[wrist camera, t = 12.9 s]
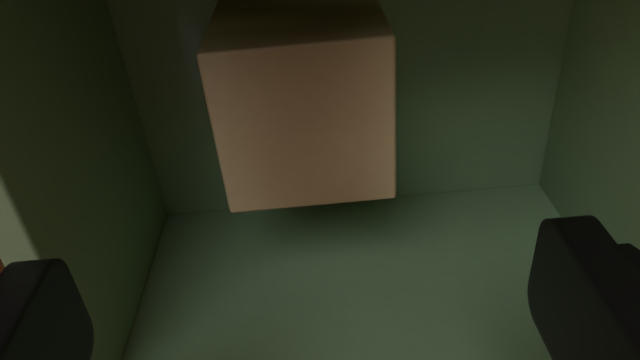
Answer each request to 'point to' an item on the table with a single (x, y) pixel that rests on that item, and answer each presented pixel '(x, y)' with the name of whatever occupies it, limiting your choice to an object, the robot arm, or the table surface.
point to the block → (301, 101)
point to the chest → (319, 220)
